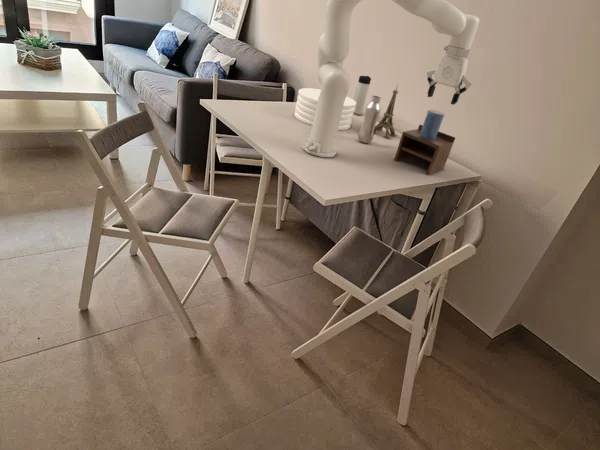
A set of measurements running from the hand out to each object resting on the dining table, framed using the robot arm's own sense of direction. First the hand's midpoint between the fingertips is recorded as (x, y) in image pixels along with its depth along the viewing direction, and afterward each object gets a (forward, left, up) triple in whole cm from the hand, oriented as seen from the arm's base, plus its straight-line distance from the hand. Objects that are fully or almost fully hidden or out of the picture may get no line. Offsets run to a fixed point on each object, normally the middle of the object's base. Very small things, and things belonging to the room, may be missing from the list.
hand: (441, 100), depth 159 cm
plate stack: (+6, +56, -27) cm, 63 cm away
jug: (0, 0, -15) cm, 15 cm away
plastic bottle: (0, +27, -27) cm, 38 cm away
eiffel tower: (+23, +31, -27) cm, 47 cm away
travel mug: (+40, +59, -27) cm, 76 cm away
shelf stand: (+1, 0, -27) cm, 27 cm away
